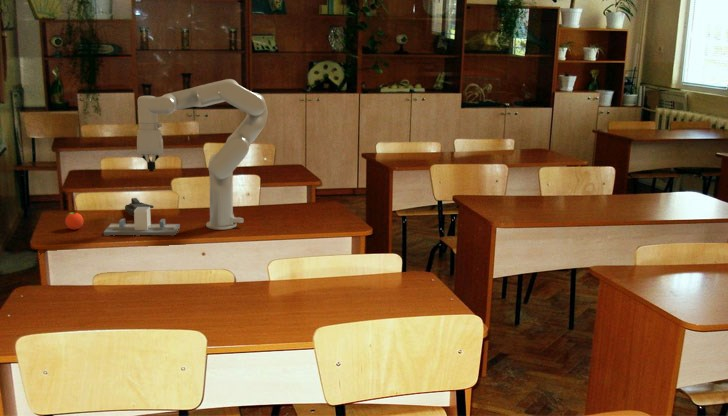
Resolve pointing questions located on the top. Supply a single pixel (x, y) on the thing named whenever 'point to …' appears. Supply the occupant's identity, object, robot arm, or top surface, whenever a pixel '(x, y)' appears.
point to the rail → (161, 226)
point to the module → (142, 218)
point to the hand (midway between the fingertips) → (151, 171)
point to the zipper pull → (135, 206)
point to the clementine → (74, 221)
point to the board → (141, 231)
